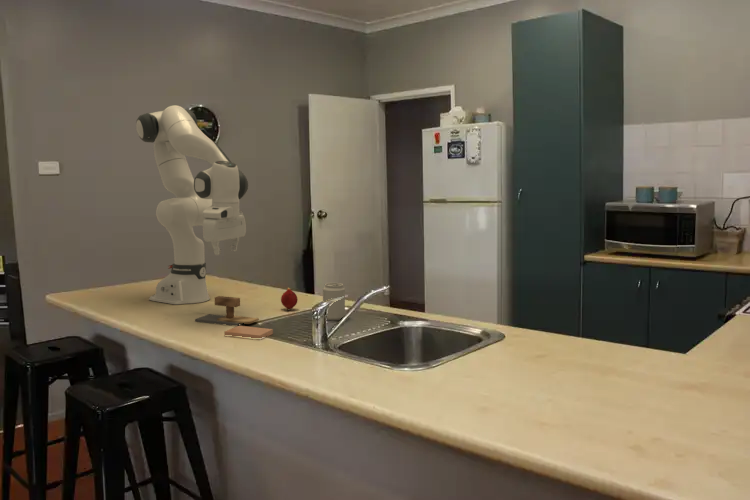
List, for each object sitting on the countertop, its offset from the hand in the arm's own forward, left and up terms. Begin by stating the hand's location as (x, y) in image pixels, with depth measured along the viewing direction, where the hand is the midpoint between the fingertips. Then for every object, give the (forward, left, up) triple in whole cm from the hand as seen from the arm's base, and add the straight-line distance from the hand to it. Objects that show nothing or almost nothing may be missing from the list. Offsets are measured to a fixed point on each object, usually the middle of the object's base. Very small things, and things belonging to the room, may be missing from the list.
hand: (225, 252), depth 214 cm
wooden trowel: (+6, -3, -22) cm, 22 cm away
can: (+33, +15, -23) cm, 42 cm away
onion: (+13, +21, -23) cm, 33 cm away
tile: (+12, -16, -22) cm, 29 cm away
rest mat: (+1, -3, -22) cm, 23 cm away
